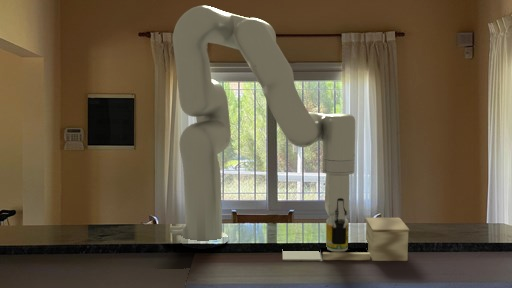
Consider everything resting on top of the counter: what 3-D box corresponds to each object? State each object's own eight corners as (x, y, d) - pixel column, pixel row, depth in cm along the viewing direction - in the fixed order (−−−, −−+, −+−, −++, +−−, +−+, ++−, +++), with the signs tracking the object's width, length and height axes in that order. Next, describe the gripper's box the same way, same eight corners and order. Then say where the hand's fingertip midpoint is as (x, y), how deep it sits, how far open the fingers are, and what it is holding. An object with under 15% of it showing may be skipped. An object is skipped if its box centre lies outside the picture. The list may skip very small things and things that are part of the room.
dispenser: (319, 261, 113) (319, 229, 112) (315, 246, 123) (315, 217, 122) (408, 261, 112) (409, 229, 111) (398, 246, 122) (399, 217, 121)
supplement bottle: (337, 243, 121) (338, 206, 120) (352, 249, 117) (353, 211, 116) (321, 247, 118) (321, 209, 117) (336, 254, 114) (337, 214, 113)
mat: (282, 260, 114) (282, 259, 114) (282, 246, 123) (282, 245, 123) (321, 260, 114) (321, 259, 114) (318, 246, 122) (318, 245, 122)
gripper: (319, 159, 123) (318, 228, 126) (326, 173, 106) (324, 252, 109) (349, 159, 123) (347, 228, 126) (360, 173, 106) (358, 252, 109)
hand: (337, 238), depth 117 cm, fingers closed on supplement bottle, 5 cm apart
